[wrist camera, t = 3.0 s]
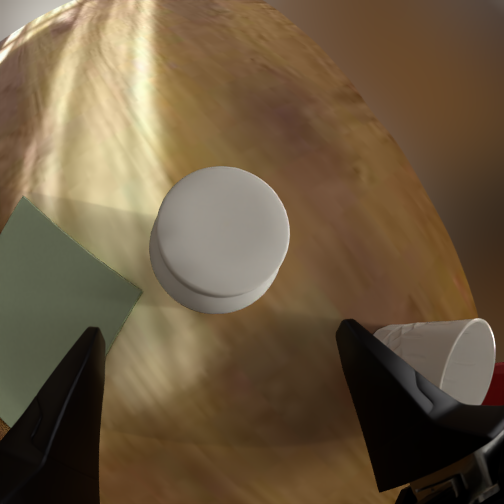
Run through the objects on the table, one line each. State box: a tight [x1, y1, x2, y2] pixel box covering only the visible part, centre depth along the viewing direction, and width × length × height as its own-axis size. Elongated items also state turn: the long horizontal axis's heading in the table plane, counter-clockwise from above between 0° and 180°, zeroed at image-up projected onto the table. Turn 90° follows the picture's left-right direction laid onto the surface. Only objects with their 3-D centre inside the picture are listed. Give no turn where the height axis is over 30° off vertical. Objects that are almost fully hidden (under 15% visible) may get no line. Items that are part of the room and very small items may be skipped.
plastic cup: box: [481, 362, 504, 406], centre depth 18 cm, size 11×11×12 cm
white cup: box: [373, 318, 495, 405], centre depth 17 cm, size 8×8×10 cm
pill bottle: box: [149, 166, 290, 314], centre depth 15 cm, size 6×6×11 cm
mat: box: [0, 196, 143, 428], centre depth 15 cm, size 19×14×1 cm
